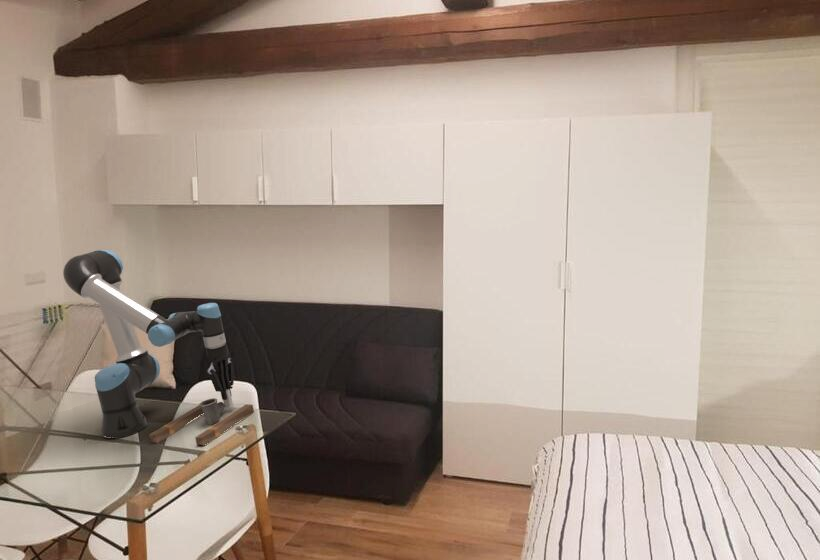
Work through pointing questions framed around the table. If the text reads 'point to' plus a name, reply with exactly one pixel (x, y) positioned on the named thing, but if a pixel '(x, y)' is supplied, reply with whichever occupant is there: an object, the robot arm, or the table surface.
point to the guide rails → (206, 435)
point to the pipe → (212, 410)
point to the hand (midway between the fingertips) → (228, 406)
